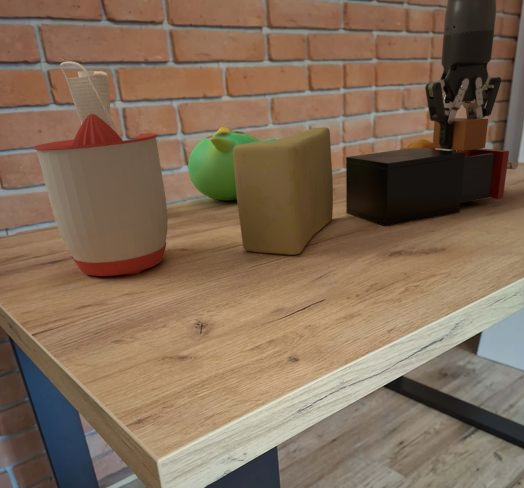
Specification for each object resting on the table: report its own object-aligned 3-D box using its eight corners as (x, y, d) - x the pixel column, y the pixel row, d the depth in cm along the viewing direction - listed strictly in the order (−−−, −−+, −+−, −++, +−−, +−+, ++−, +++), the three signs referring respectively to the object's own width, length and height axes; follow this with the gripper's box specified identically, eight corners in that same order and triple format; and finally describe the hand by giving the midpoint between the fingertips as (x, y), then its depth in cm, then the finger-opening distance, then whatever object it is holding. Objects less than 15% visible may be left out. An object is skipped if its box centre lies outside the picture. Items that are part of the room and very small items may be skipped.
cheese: (303, 217, 92) (300, 127, 85) (355, 219, 87) (355, 124, 80) (239, 252, 75) (228, 143, 68) (299, 257, 70) (293, 140, 64)
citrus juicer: (195, 245, 80) (175, 105, 71) (152, 283, 65) (120, 112, 56) (105, 247, 84) (75, 114, 74) (44, 284, 68) (-3, 122, 59)
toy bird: (250, 189, 123) (244, 123, 116) (289, 197, 110) (285, 123, 103) (181, 201, 115) (171, 131, 109) (214, 211, 102) (205, 132, 96)
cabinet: (413, 201, 97) (416, 147, 92) (459, 212, 86) (465, 152, 82) (346, 213, 92) (346, 157, 88) (385, 226, 82) (388, 163, 77)
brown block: (452, 145, 92) (455, 118, 90) (485, 147, 86) (488, 118, 84) (432, 147, 91) (434, 120, 89) (463, 150, 84) (466, 121, 82)
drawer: (477, 186, 100) (482, 143, 97) (523, 194, 91) (531, 147, 87) (399, 199, 95) (400, 155, 91) (439, 209, 85) (443, 160, 82)
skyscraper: (98, 228, 97) (61, 60, 84) (93, 221, 104) (57, 64, 91) (142, 221, 100) (112, 57, 87) (134, 214, 106) (105, 61, 94)
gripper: (447, 29, 75) (438, 152, 83) (522, 25, 79) (507, 143, 87) (416, 35, 81) (410, 149, 89) (486, 32, 86) (475, 141, 93)
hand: (458, 145), depth 88 cm, fingers closed on brown block, 4 cm apart
